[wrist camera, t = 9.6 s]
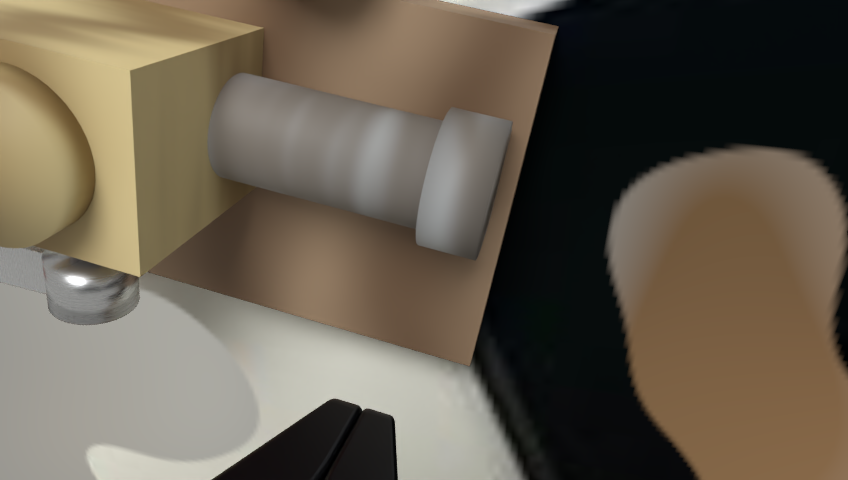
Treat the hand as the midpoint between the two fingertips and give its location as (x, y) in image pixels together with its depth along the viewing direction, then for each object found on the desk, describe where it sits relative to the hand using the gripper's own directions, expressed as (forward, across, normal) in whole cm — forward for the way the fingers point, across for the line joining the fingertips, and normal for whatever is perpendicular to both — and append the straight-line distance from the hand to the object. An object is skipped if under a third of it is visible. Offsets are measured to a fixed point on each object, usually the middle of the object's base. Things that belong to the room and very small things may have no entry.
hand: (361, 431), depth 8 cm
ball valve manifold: (+13, +7, +2) cm, 15 cm away
